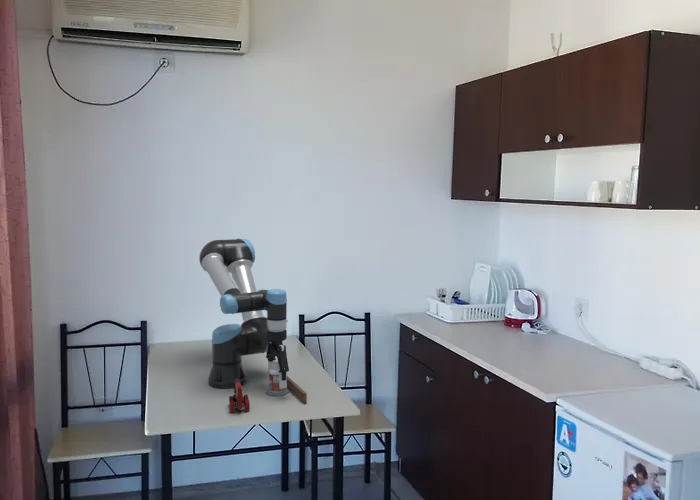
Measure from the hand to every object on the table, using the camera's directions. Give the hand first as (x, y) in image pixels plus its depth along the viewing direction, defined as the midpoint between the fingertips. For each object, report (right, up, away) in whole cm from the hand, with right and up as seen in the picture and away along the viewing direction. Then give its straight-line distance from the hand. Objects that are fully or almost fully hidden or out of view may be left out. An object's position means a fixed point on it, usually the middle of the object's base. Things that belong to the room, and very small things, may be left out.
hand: (277, 382), depth 240 cm
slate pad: (0, -4, 0) cm, 4 cm away
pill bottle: (0, -4, 0) cm, 3 cm away
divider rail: (+7, -4, -2) cm, 8 cm away
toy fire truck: (-12, -6, -16) cm, 21 cm away
